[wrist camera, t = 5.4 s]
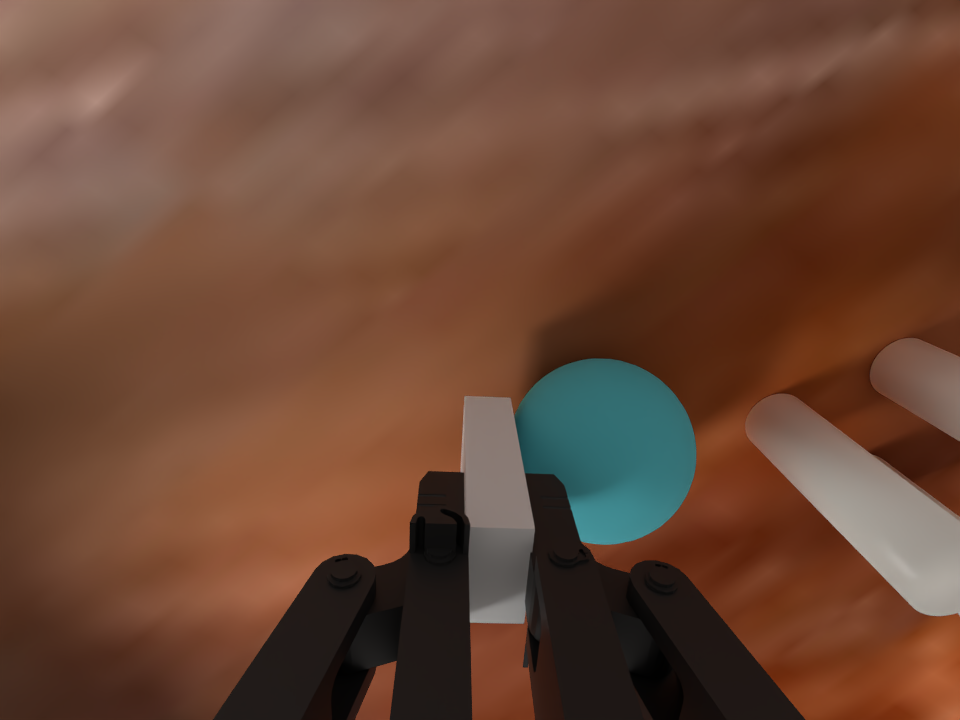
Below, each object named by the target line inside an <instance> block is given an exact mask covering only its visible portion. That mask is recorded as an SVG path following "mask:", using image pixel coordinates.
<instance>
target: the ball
mask: <svg viewBox="0 0 960 720" xmlns="http://www.w3.org/2000/svg"><path fill="white" fill-rule="evenodd" d="M514 419H515V424H516V429H517V435H518V440H519V446H520V451H521V456H522V462H523V467H524V472H525V473H533V474H554V475H555V476H556V477H557V478H558V479H559V480H560V481H561V482H562V483H563V484H564V486H565V489H566V492H567V496H568V499H569V503H570V506H571V510H572V513H573V516H574V520H575V523H576V527H577V530H578V534H579V537H580V540H581V541H582V542H586V543H592V544H603V545H606V544H618V543H624V542H628V541H633V540H635V539H638V538H641V537H643V536H645V535H647V534H649V533H651V532H653V531H654V530H656V529H658V528H659V527H660V526H662V525H663V524H664V523H665V522H666V521H668V520H669V519H670V518H671V517H672V516H673V514H674V513H675V512H676V511H677V510H678V508H679V507H680V506H681V504H682V503H683V501H684V499H685V498H686V496H687V494H688V492H689V489H690V486H691V483H692V481H693V478H694V473H695V467H696V442H695V436H694V432H693V428H692V425H691V422H690V419H689V417H688V415H687V412H686V410H685V409H684V407H683V405H682V404H681V402H680V401H679V400H678V398H677V397H676V395H675V394H674V393H673V392H672V391H671V389H670V388H669V387H668V386H666V385H665V384H664V383H663V382H662V381H661V380H660V379H658V378H657V377H656V376H654V375H653V374H651V373H650V372H648V371H646V370H644V369H642V368H640V367H638V366H636V365H633V364H630V363H627V362H623V361H620V360H614V359H597V358H593V359H584V360H580V361H576V362H572V363H569V364H566V365H564V366H561V367H559V368H557V369H555V370H554V371H552V372H550V373H549V374H547V375H546V376H544V377H543V378H542V379H541V380H539V381H538V382H537V383H536V384H535V385H534V386H533V387H532V388H531V389H530V390H529V392H528V393H527V394H526V396H525V397H524V398H523V400H522V401H521V403H520V405H519V407H518V409H517V411H516V413H515V415H514Z"/></svg>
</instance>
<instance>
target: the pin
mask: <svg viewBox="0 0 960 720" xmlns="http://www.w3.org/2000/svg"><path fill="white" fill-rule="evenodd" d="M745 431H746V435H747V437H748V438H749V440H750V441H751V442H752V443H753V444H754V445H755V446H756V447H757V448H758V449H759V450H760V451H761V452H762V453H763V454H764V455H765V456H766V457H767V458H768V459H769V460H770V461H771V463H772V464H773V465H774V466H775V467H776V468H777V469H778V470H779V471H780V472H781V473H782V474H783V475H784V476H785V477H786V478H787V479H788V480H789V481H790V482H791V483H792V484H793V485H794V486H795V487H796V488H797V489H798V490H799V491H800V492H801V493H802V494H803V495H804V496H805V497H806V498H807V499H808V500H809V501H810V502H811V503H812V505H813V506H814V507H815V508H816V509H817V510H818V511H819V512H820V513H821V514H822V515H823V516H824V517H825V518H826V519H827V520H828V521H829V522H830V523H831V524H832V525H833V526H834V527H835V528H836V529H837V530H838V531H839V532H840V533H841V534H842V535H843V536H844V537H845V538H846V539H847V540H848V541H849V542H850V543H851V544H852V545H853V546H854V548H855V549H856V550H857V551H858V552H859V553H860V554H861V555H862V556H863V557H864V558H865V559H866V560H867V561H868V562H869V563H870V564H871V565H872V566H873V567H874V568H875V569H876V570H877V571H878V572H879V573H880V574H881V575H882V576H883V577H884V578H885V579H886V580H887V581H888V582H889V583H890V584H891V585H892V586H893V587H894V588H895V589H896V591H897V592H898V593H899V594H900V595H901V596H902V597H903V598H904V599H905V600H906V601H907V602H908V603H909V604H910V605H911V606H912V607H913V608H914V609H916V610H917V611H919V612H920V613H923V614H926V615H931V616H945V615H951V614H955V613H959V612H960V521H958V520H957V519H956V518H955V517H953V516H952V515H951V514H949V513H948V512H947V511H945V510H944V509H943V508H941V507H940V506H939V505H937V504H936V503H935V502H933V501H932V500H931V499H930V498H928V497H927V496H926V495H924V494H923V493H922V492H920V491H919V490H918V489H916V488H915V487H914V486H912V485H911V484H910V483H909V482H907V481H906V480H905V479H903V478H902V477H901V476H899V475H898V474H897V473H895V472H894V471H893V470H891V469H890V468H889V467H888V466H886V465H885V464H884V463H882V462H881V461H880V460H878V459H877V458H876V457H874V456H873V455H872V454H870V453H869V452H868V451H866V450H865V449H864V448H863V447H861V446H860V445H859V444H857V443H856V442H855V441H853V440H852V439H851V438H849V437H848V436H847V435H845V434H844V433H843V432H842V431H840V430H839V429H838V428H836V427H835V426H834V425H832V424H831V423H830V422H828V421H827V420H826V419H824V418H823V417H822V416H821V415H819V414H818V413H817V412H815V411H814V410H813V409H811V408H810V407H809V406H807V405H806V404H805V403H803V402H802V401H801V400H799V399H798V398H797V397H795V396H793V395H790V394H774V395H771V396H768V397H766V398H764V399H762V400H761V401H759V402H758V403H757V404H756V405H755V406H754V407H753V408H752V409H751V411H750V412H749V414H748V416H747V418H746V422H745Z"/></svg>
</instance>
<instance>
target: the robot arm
mask: <svg viewBox="0 0 960 720" xmlns="http://www.w3.org/2000/svg"><path fill="white" fill-rule="evenodd" d="M525 611H526V615H527V622H528V628H527V637H526V645H525V653H524V662H523V667H528V664H529V672H530V681H531V689H532V697H533V705H534V713H535V720H805V719H804V717H803V716H802V715H801V714H800V713H799V711H798V710H797V709H796V708H795V707H794V705H793V704H792V703H791V702H790V701H789V699H788V698H787V697H786V696H785V694H784V693H783V692H782V691H781V690H780V688H779V687H778V686H777V685H776V684H775V682H774V681H773V680H772V679H771V678H770V676H769V675H768V674H767V673H766V671H765V670H764V669H763V668H762V667H761V665H760V664H759V663H758V662H757V661H756V659H755V658H754V657H753V656H752V655H751V653H750V652H749V651H748V650H747V649H746V647H745V646H744V645H743V644H742V642H741V641H740V640H739V639H738V638H737V636H736V635H735V634H734V633H733V632H732V630H731V629H730V628H729V627H728V626H727V624H726V623H725V622H724V621H723V619H722V618H721V617H720V616H719V615H718V613H717V612H716V611H715V610H714V609H713V607H712V606H711V605H710V604H709V603H708V601H707V600H706V599H705V598H704V596H703V595H702V594H701V593H700V592H699V590H698V589H697V588H696V587H695V586H694V584H693V583H692V582H691V581H690V580H689V578H688V577H687V576H686V575H685V574H684V573H682V572H681V571H680V570H679V569H677V568H675V567H673V566H672V565H670V564H668V563H664V562H660V561H642V562H640V563H637V564H636V565H635V566H634V567H633V568H632V569H631V572H630V573H627V572H623V571H619V570H616V569H612V568H609V567H606V566H604V565H602V564H600V563H598V562H596V561H595V559H594V557H593V555H592V553H591V552H590V550H589V549H588V548H587V547H585V546H584V545H583V544H582V543H581V540H580V537H579V534H578V530H577V527H576V523H575V520H574V516H573V513H572V510H571V506H570V503H569V499H568V496H567V492H566V489H565V486H564V484H563V483H562V482H561V481H560V480H559V479H558V478H557V477H556V476H555V475H554V474H533V473H525V472H524V467H523V462H522V456H521V451H520V446H519V440H518V435H517V429H516V424H515V419H514V413H513V408H512V403H511V398H506V397H481V396H465V397H464V415H463V433H462V452H461V472H436V471H428V472H427V474H426V475H425V476H424V477H423V478H422V480H421V481H420V484H419V492H418V501H417V510H416V514H415V515H413V517H412V519H411V522H410V549H409V551H408V552H407V553H406V554H405V555H404V556H403V557H402V558H400V559H398V560H396V561H394V562H392V563H388V564H385V565H381V566H376V567H374V565H373V564H372V563H371V562H370V561H369V560H368V559H367V558H364V557H362V556H359V555H353V554H343V555H338V556H333V557H331V558H329V559H327V560H325V561H324V562H322V563H321V564H320V565H319V566H318V567H317V568H316V569H315V570H314V572H313V573H312V575H311V576H310V578H309V579H308V581H307V582H306V584H305V585H304V587H303V588H302V589H301V591H300V592H299V594H298V595H297V597H296V598H295V600H294V601H293V603H292V604H291V606H290V607H289V609H288V610H287V612H286V613H285V614H284V616H283V617H282V619H281V620H280V622H279V623H278V625H277V626H276V628H275V629H274V631H273V632H272V634H271V635H270V637H269V638H268V639H267V641H266V642H265V644H264V645H263V647H262V648H261V650H260V651H259V653H258V654H257V656H256V657H255V659H254V660H253V662H252V663H251V664H250V666H249V667H248V669H247V670H246V672H245V673H244V675H243V676H242V678H241V679H240V681H239V682H238V684H237V685H236V687H235V688H234V689H233V691H232V692H231V694H230V695H229V697H228V698H227V700H226V701H225V703H224V704H223V706H222V707H221V709H220V710H219V712H218V713H217V714H216V716H215V717H214V719H213V720H355V718H356V715H357V713H358V711H359V709H360V706H361V704H362V702H363V699H364V697H365V695H366V692H367V690H368V688H369V686H370V683H371V681H372V679H373V676H374V674H375V670H376V666H380V665H383V664H387V663H390V662H394V661H397V663H396V672H395V680H394V689H393V697H392V706H391V714H390V720H472V692H471V647H470V623H518V624H524V619H525Z"/></svg>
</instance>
